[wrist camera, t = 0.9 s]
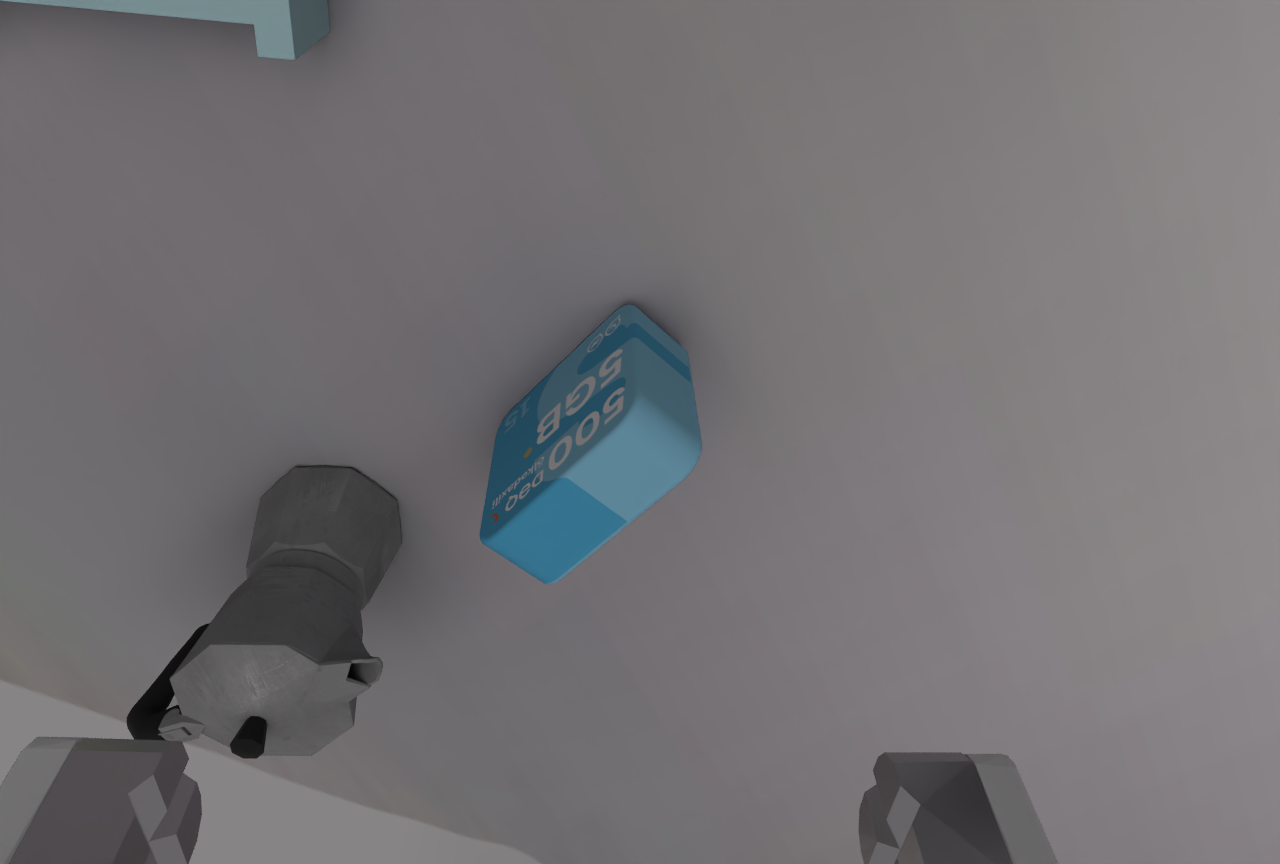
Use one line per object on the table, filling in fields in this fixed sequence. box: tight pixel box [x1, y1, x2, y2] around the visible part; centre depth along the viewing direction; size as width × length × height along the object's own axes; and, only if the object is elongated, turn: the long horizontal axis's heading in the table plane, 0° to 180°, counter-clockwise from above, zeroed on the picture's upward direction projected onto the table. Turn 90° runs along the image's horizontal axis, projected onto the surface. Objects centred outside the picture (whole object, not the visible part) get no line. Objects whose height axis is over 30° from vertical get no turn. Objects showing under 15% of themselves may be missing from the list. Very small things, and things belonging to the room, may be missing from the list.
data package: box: [480, 304, 702, 584], centre depth 50 cm, size 12×4×12 cm, turn 136°
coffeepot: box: [127, 465, 402, 758], centre depth 52 cm, size 15×9×18 cm, turn 109°
